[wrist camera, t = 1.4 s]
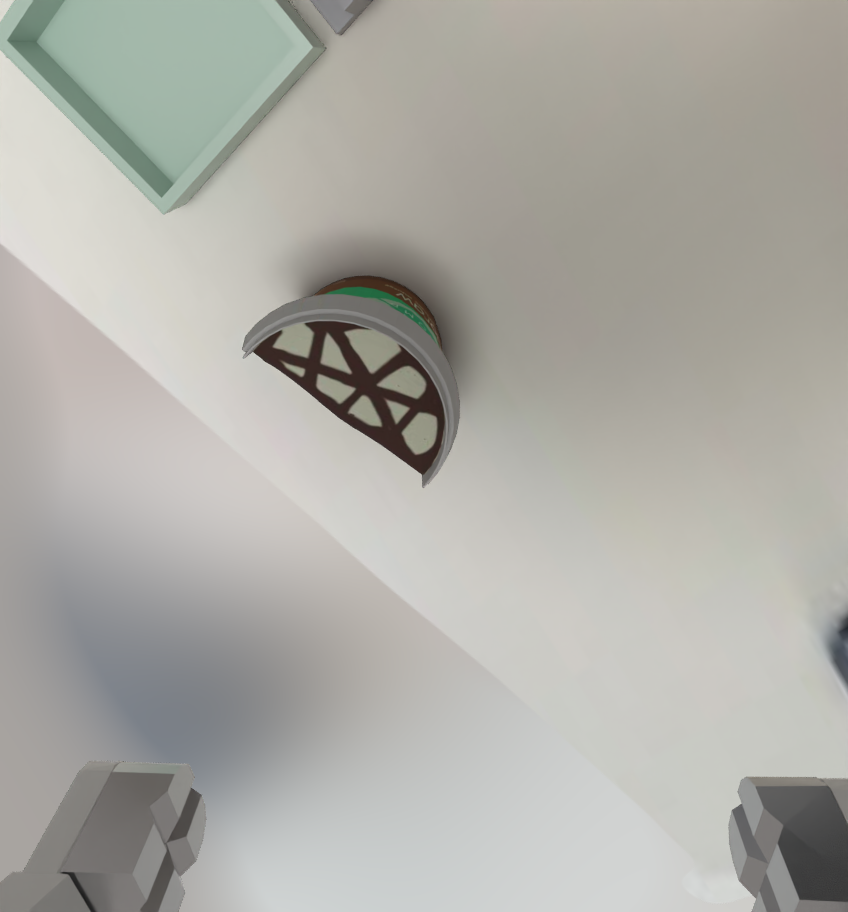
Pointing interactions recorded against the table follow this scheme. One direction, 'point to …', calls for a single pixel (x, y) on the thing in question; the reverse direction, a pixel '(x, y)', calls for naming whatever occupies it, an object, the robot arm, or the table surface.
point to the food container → (369, 364)
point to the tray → (161, 77)
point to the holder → (340, 12)
